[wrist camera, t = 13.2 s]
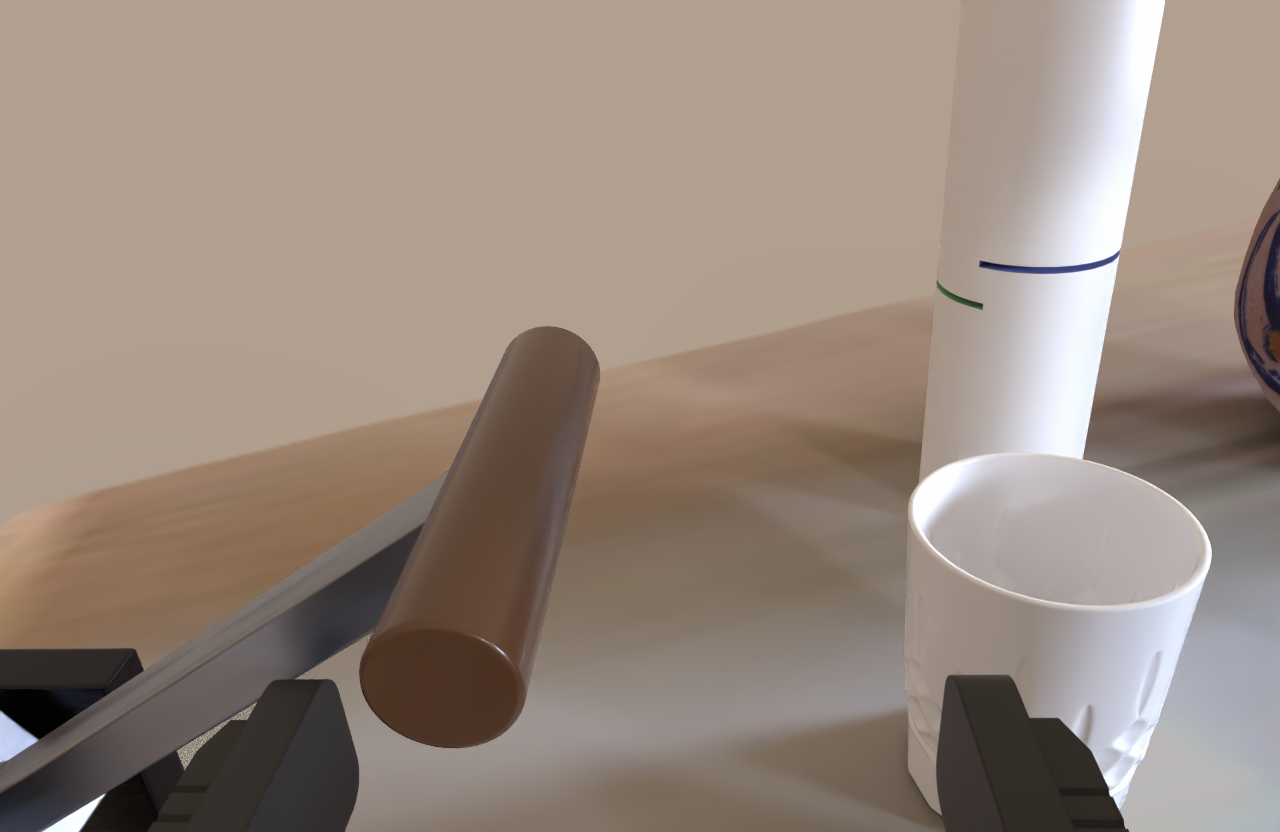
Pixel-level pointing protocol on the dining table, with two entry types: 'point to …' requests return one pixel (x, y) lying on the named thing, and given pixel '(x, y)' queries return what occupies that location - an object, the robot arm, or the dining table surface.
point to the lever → (365, 607)
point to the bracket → (64, 687)
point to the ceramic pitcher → (1262, 301)
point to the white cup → (1049, 599)
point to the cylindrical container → (1033, 220)
